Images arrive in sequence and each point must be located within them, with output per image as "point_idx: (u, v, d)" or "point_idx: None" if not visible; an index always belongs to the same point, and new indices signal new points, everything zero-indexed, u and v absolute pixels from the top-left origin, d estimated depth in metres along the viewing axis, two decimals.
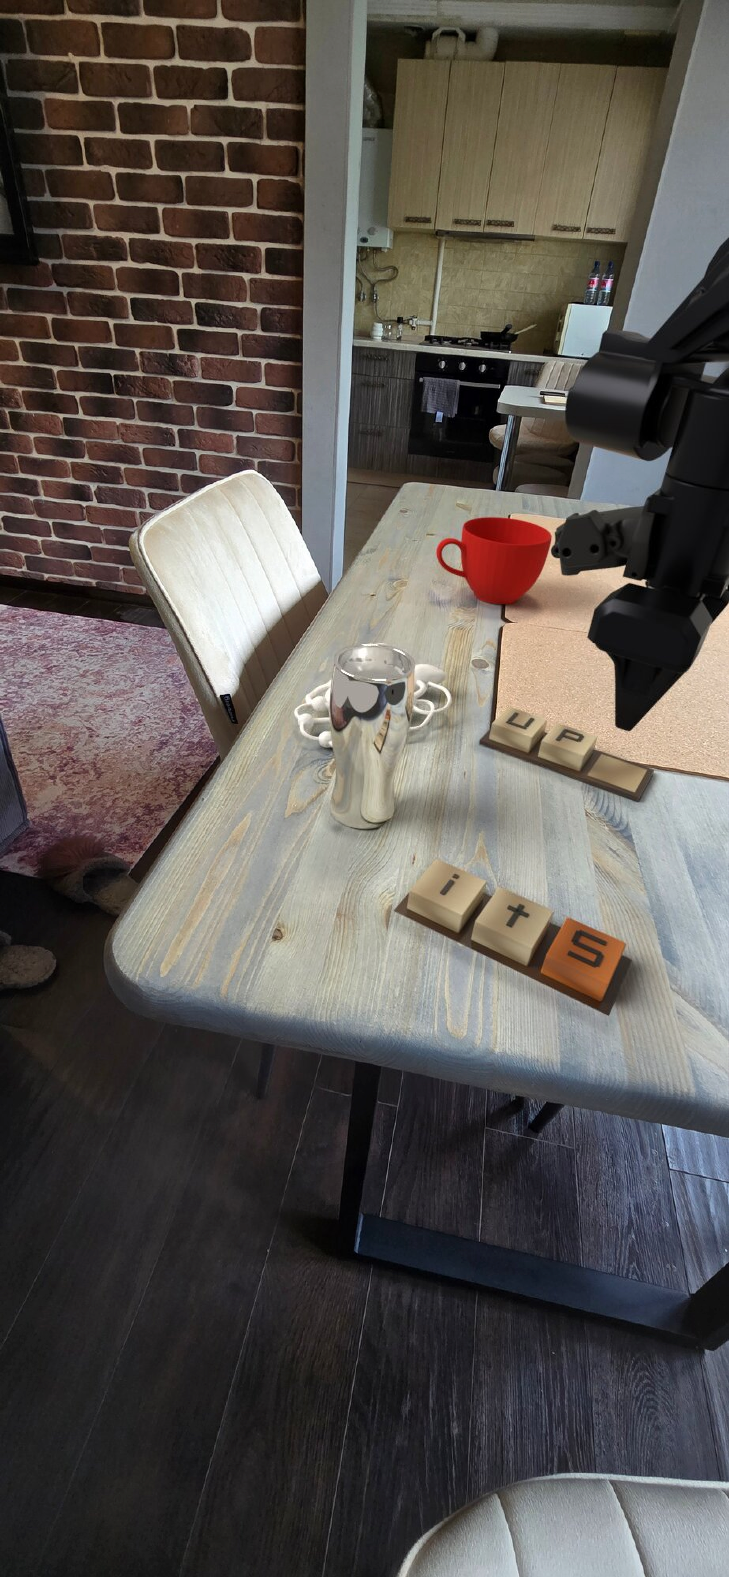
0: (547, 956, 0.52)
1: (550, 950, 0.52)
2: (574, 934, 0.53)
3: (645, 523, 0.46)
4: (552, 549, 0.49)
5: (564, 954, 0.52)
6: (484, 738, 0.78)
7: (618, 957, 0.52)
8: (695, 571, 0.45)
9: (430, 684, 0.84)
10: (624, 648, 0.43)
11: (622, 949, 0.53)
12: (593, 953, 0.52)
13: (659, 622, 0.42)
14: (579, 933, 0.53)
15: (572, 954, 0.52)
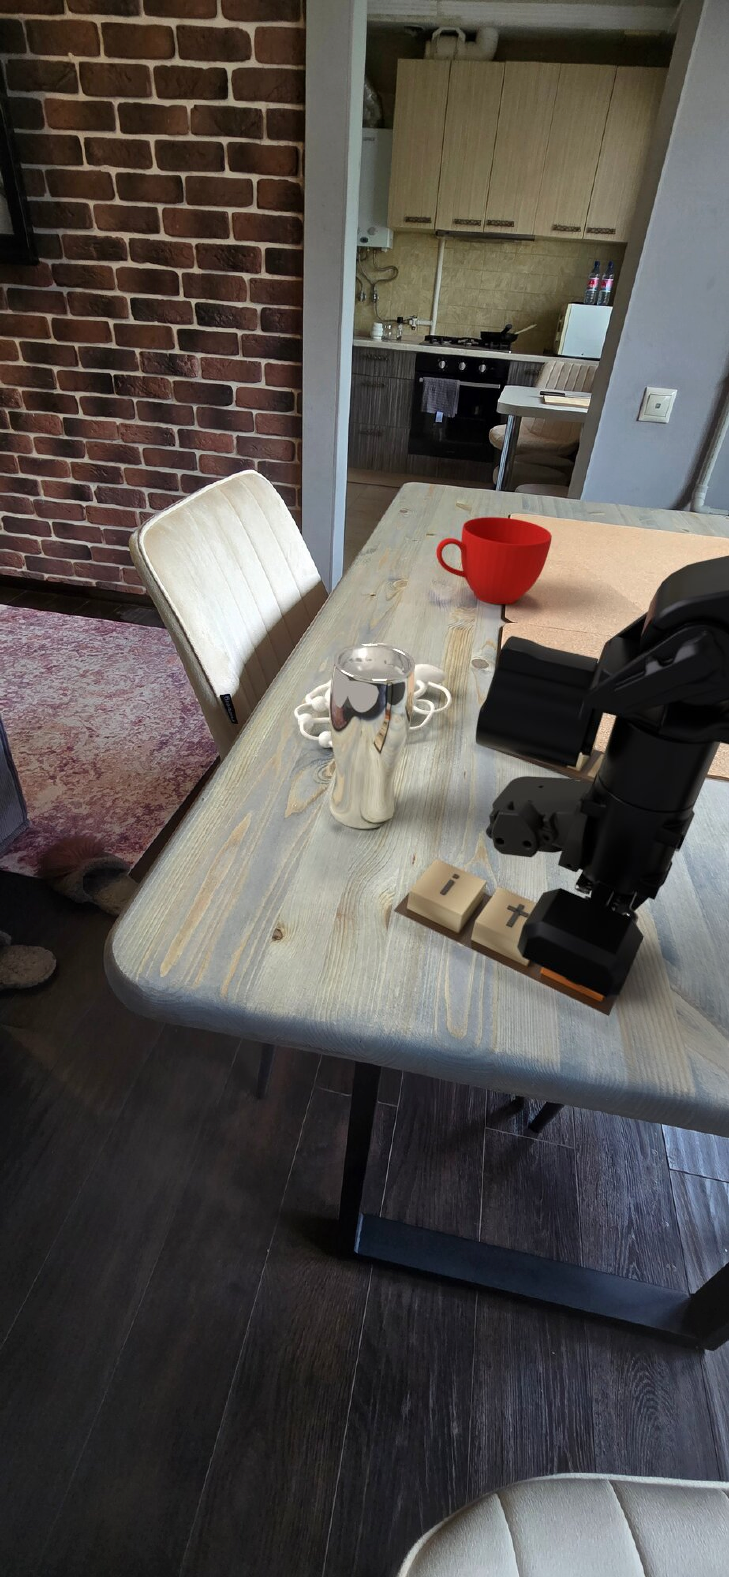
0: None
1: None
2: None
3: (578, 822, 0.45)
4: (487, 830, 0.48)
5: None
6: None
7: None
8: (629, 874, 0.44)
9: (430, 684, 0.84)
10: (552, 968, 0.42)
11: None
12: None
13: (586, 955, 0.41)
14: None
15: None
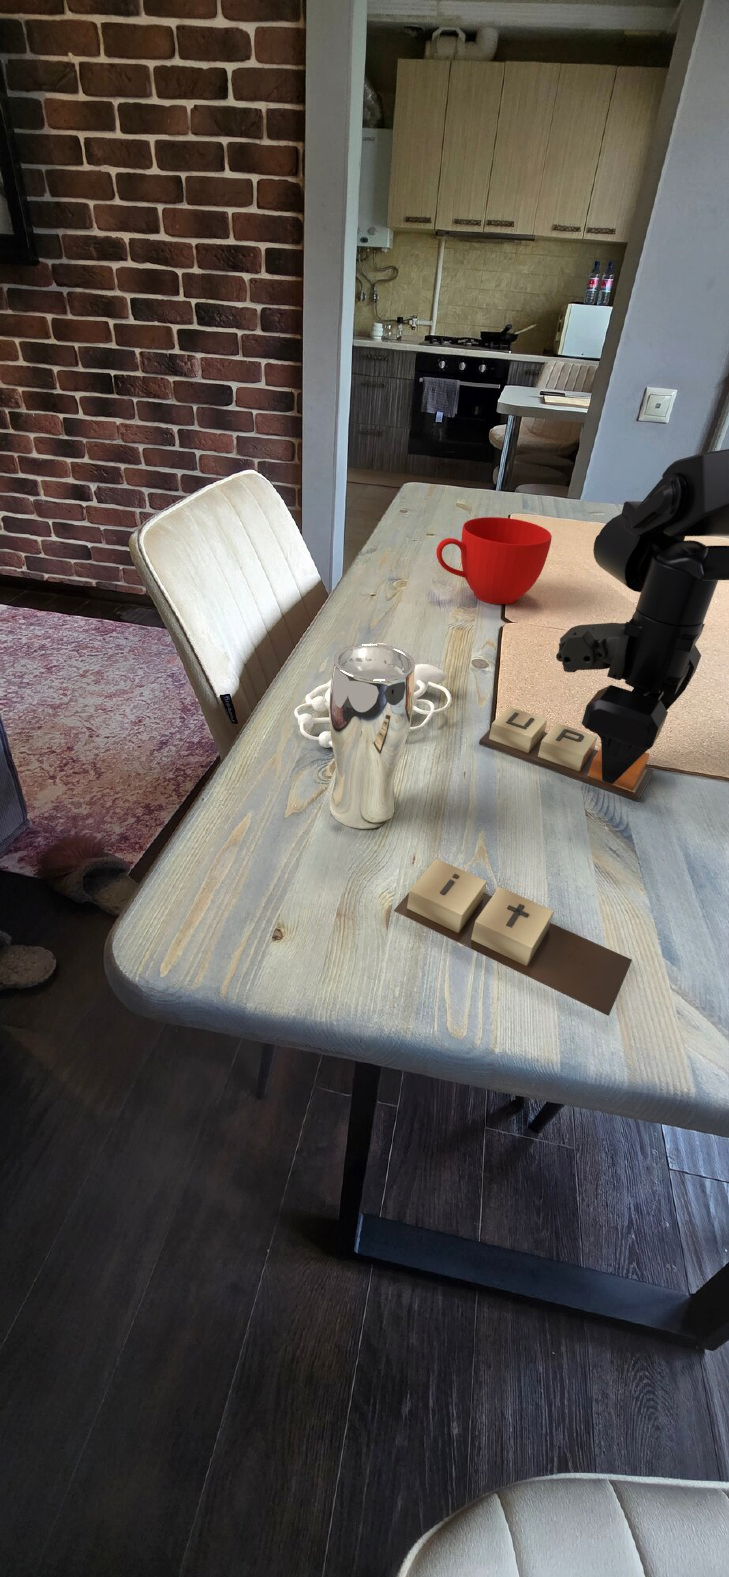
0: (593, 759, 0.73)
1: (596, 756, 0.73)
2: None
3: (622, 642, 0.65)
4: (557, 655, 0.68)
5: None
6: (484, 738, 0.78)
7: (644, 760, 0.73)
8: (657, 676, 0.65)
9: (430, 684, 0.84)
10: (607, 733, 0.63)
11: (647, 757, 0.74)
12: None
13: (630, 717, 0.61)
14: None
15: None
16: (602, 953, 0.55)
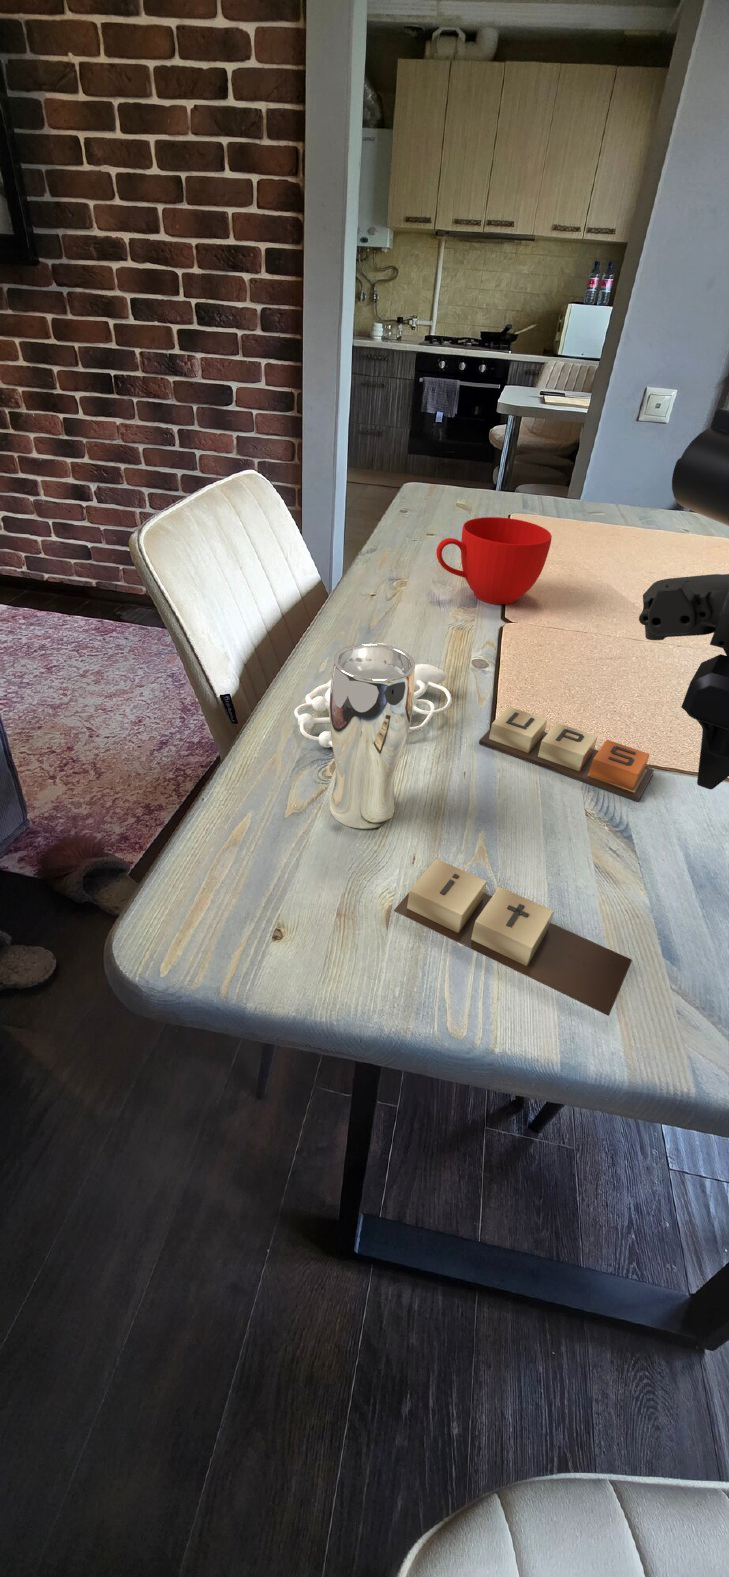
0: (593, 759, 0.73)
1: (596, 756, 0.73)
2: (612, 748, 0.74)
3: None
4: (640, 616, 0.51)
5: (605, 758, 0.73)
6: (484, 738, 0.78)
7: (644, 760, 0.73)
8: None
9: (430, 684, 0.84)
10: (719, 719, 0.45)
11: (647, 757, 0.74)
12: (626, 758, 0.73)
13: None
14: (615, 747, 0.74)
15: (611, 758, 0.73)
16: (602, 953, 0.55)
